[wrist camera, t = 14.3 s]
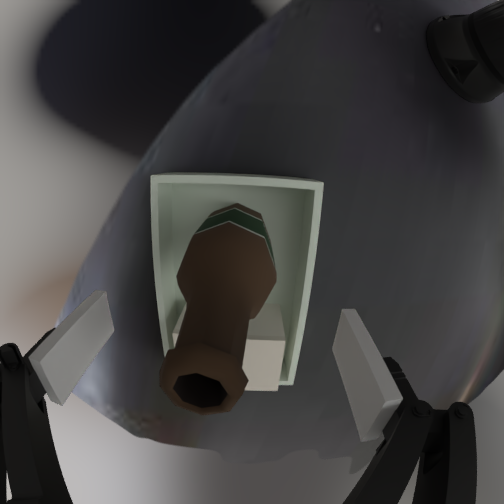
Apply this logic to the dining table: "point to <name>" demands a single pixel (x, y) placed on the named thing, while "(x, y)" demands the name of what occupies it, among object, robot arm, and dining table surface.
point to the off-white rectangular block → (260, 348)
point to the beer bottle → (218, 309)
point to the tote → (278, 227)
